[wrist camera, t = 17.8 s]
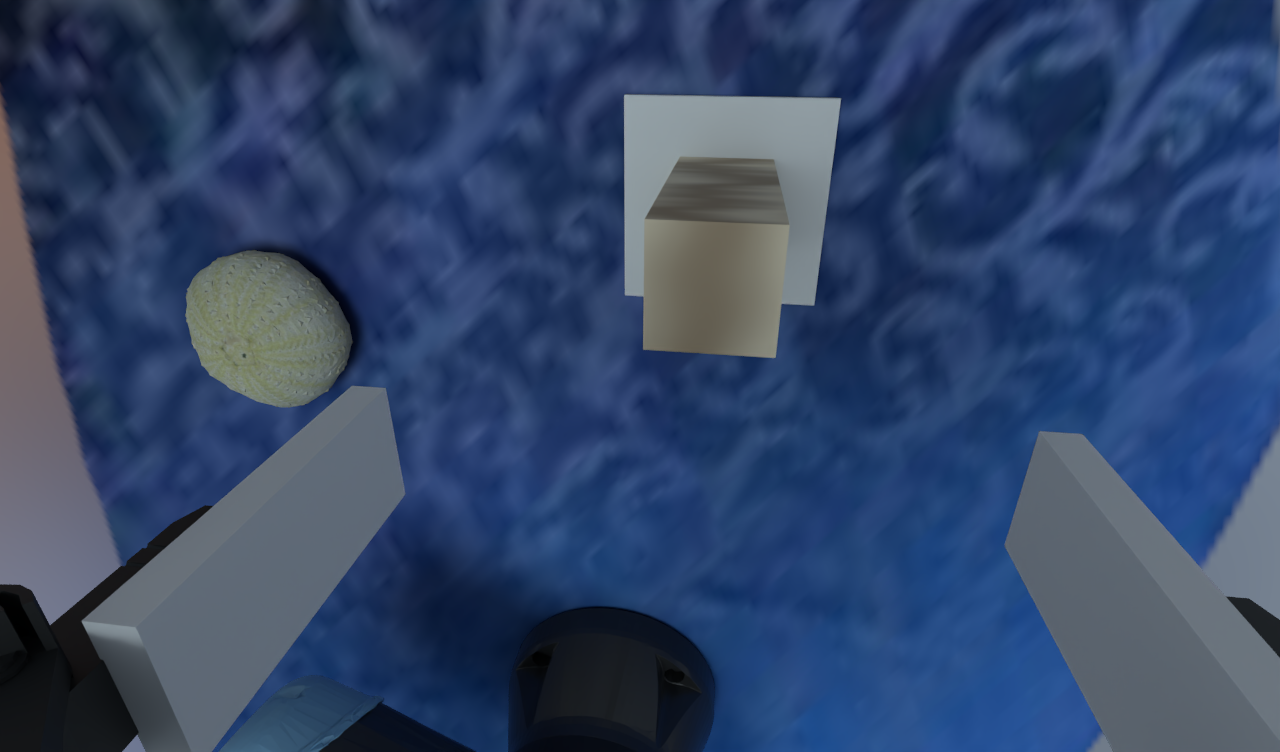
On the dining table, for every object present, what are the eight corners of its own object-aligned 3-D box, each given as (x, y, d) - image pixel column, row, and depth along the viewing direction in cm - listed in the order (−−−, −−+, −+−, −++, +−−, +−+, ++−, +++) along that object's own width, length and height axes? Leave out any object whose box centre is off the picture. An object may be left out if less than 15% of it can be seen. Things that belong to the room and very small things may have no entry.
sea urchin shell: (289, 220, 36) (275, 359, 33) (383, 284, 43) (377, 402, 40) (155, 257, 38) (130, 391, 35) (265, 312, 45) (252, 427, 42)
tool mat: (813, 301, 36) (814, 305, 35) (626, 291, 37) (625, 295, 36) (839, 97, 31) (840, 98, 31) (626, 94, 32) (624, 95, 32)
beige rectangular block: (773, 159, 32) (789, 225, 21) (765, 251, 34) (775, 357, 23) (680, 156, 33) (644, 219, 21) (676, 247, 35) (643, 349, 23)
